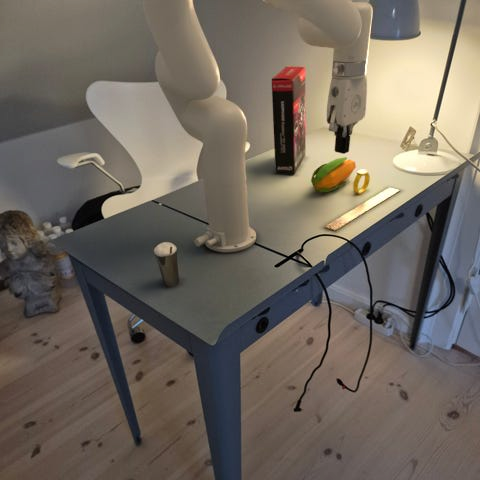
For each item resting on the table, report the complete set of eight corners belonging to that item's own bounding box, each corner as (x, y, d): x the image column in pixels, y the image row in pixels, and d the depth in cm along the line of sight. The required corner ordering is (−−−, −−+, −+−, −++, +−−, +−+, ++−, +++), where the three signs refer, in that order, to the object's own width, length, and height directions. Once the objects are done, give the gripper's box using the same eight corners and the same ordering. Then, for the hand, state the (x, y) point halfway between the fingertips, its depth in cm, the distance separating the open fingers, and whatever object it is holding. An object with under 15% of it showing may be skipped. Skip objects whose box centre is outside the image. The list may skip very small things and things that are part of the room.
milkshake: (169, 292, 94) (160, 250, 87) (157, 282, 97) (148, 240, 91) (188, 284, 95) (181, 242, 89) (175, 274, 99) (168, 233, 93)
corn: (305, 167, 123) (344, 146, 134) (302, 193, 128) (340, 171, 139) (328, 174, 119) (366, 152, 130) (324, 201, 124) (362, 177, 135)
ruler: (335, 231, 109) (335, 230, 109) (324, 227, 111) (324, 226, 111) (399, 191, 125) (399, 190, 125) (389, 188, 127) (389, 187, 127)
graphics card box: (294, 175, 139) (295, 77, 122) (273, 174, 141) (270, 78, 124) (305, 157, 152) (307, 65, 135) (285, 156, 154) (285, 66, 137)
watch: (362, 187, 129) (364, 166, 125) (370, 189, 127) (373, 168, 123) (350, 194, 126) (351, 173, 122) (358, 196, 124) (360, 175, 120)
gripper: (343, 76, 95) (336, 163, 107) (381, 65, 103) (371, 147, 115) (315, 73, 100) (311, 156, 111) (354, 63, 108) (346, 142, 119)
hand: (341, 151), depth 113 cm, fingers closed
